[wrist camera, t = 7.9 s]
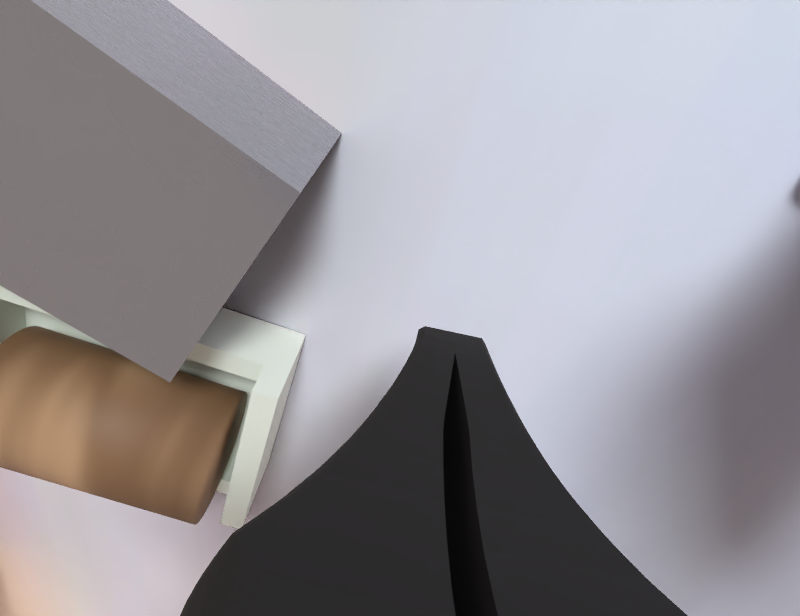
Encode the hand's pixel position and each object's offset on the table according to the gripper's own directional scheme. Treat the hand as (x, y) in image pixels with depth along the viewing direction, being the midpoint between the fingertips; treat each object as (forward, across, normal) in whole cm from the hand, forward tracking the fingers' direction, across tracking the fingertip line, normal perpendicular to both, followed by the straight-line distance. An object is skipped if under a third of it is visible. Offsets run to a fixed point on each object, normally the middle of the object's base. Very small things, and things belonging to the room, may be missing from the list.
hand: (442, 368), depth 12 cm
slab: (+6, +9, -1) cm, 11 cm away
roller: (+5, +9, +7) cm, 13 cm away
